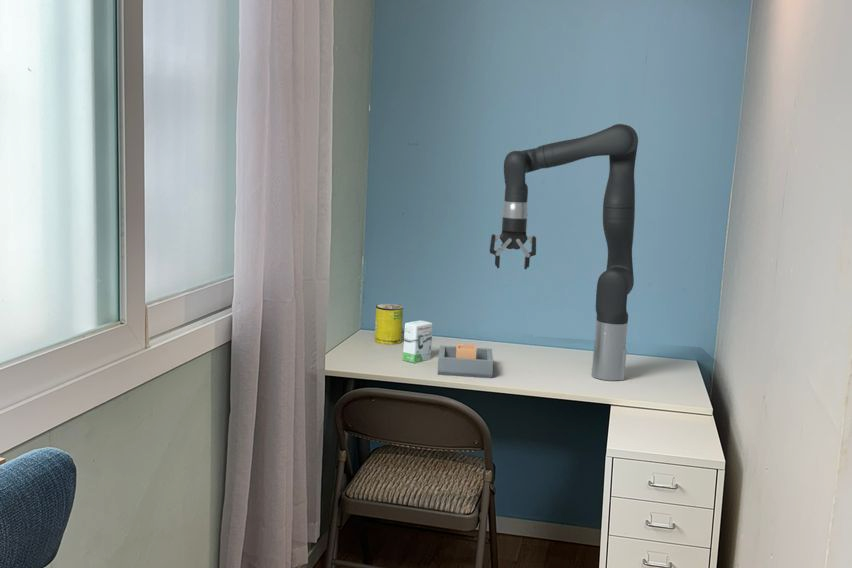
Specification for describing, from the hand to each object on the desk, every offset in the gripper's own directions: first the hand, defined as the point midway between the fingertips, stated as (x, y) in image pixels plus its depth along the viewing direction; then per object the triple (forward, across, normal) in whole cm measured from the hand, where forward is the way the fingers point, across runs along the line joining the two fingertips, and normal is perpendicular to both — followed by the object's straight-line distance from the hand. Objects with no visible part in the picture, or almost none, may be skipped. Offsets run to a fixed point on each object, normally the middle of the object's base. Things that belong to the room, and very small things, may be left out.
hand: (511, 268), depth 278 cm
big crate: (+30, +13, +13) cm, 35 cm away
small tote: (+29, +13, +13) cm, 34 cm away
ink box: (+30, +28, +5) cm, 41 cm away
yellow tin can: (+30, +39, -17) cm, 52 cm away
